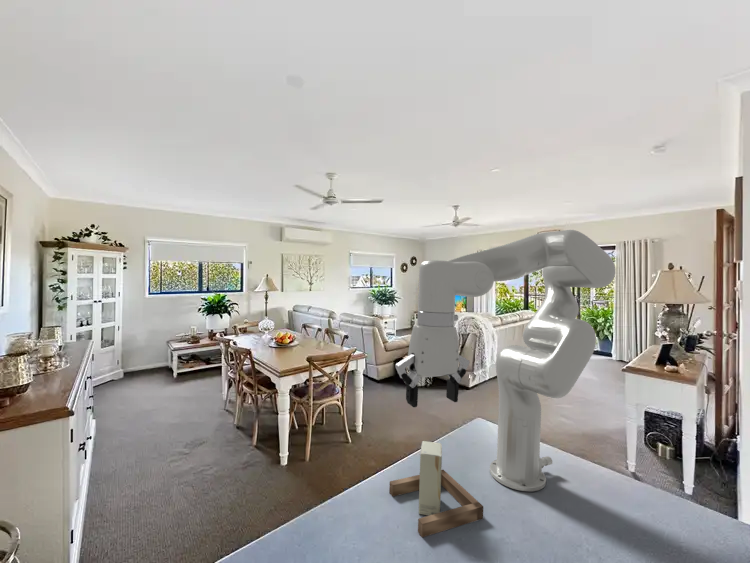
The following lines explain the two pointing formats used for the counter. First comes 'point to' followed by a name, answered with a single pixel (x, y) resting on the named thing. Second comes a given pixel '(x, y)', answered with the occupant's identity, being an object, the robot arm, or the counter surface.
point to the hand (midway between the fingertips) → (432, 402)
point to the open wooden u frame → (448, 518)
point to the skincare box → (430, 478)
